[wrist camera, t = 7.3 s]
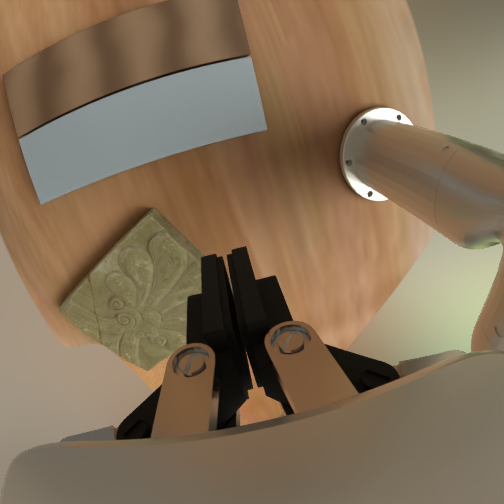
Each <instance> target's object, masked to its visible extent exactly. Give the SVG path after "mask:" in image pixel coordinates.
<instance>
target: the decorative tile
mask: <svg viewBox="0 0 504 504" xmlns="http://www.w3.org/2000/svg"><path fill="white" fill-rule="evenodd" d="M201 257H204V255H203V254H202V253H201V252H200V251H199V250H198V249H197V248H195V247H194V246H193V245H192V244H191V243H190V242H189V241H188V240H187V239H186V238H185V237H184V236H183V235H182V234H181V233H180V232H179V231H178V230H177V229H176V228H175V227H174V226H173V225H172V224H171V223H170V222H168V221H167V220H166V219H165V218H164V217H163V216H162V215H161V214H160V213H159V212H158V211H157V210H156V209H152V208H151V209H150V210H149V211H148V212H147V213H146V214H145V215H144V216H143V217H142V218H140V219H139V220H138V221H137V222H136V223H135V224H134V225H133V226H132V227H131V228H130V229H129V230H128V231H127V232H126V233H125V234H124V235H123V236H122V237H121V238H120V239H119V240H118V241H117V242H116V243H115V244H114V245H113V246H112V248H111V249H110V250H109V251H108V252H107V253H106V254H105V255H104V256H103V257H102V258H101V259H100V260H99V261H98V262H97V263H96V264H95V266H94V267H93V268H92V269H91V270H90V271H89V272H88V273H87V274H86V275H85V276H84V278H83V279H82V280H81V281H80V282H79V283H78V284H77V285H76V287H75V288H74V289H73V290H72V291H71V292H70V293H69V295H68V296H67V297H66V298H65V299H64V300H63V302H62V304H61V305H60V307H59V310H60V312H61V314H63V315H64V316H65V317H66V318H67V319H69V320H70V321H71V322H72V323H74V324H75V325H76V326H77V327H78V328H80V329H81V330H82V331H83V332H85V333H86V334H88V335H89V336H91V337H92V338H94V339H95V340H97V341H98V342H99V343H101V344H103V345H104V346H106V347H107V348H108V349H110V350H111V351H113V352H114V353H116V354H118V355H120V356H121V357H122V358H124V359H126V360H127V361H128V362H130V363H132V364H133V365H135V366H138V367H140V368H142V369H144V370H146V371H149V370H150V369H152V368H153V367H154V366H156V365H157V364H158V363H159V362H160V361H162V360H164V359H165V358H167V357H168V356H170V355H172V354H173V353H174V352H175V351H176V350H177V349H179V348H180V347H182V346H185V345H186V330H187V298H188V296H191V295H195V294H199V293H202V290H201ZM229 282H230V285H231V281H230V280H229ZM231 289H232V285H231ZM232 292H233V291H232Z"/></svg>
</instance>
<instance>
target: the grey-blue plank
mask: <svg viewBox="0 0 504 504" xmlns="http://www.w3.org/2000/svg"><path fill="white" fill-rule="evenodd" d="M265 130H267V125H266V121H265V116H264V111H263V107H262V102H261V98H260V93H259V89H258V84H257V80H256V76H255V71H254V67H253V63H252V59H251V57H247V58H241V59H236V60H231V61H226V62H221V63H216V64H212V65H208V66H203V67H199V68H195V69H191V70H188V71H184V72H180V73H177V74H173V75H170V76H166V77H163V78H160V79H156V80H153V81H150V82H147V83H144V84H141V85H138V86H135V87H132V88H130V89H127V90H124V91H121V92H119V93H116V94H113V95H111V96H108V97H106V98H103V99H101V100H99V101H96V102H94V103H91V104H89V105H87V106H84V107H82V108H80V109H78V110H76V111H73V112H71V113H69V114H67V115H65V116H63V117H61V118H59V119H57V120H55V121H53V122H51V123H49V124H47V125H45V126H43V127H41V128H39V129H37V130H36V131H34V132H32V133H30V134H28V135H27V136H25V137H23V138H21V139H20V140H19V143H20V146H21V149H22V153H23V156H24V159H25V162H26V165H27V168H28V171H29V174H30V177H31V179H32V182H33V185H34V188H35V190H36V193H37V196H38V198H39V201H40V203H41V205H42V204H44V203H47V202H49V201H51V200H53V199H55V198H58V197H60V196H62V195H65V194H67V193H69V192H72V191H74V190H76V189H79V188H81V187H84V186H86V185H89V184H91V183H94V182H96V181H99V180H101V179H104V178H106V177H109V176H112V175H114V174H117V173H120V172H123V171H125V170H128V169H131V168H134V167H137V166H140V165H143V164H146V163H149V162H152V161H155V160H158V159H161V158H164V157H167V156H170V155H173V154H177V153H180V152H183V151H187V150H190V149H194V148H197V147H201V146H204V145H208V144H212V143H215V142H219V141H223V140H227V139H231V138H235V137H239V136H243V135H247V134H251V133H256V132H260V131H265Z"/></svg>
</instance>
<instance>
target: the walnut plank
mask: <svg viewBox="0 0 504 504" xmlns="http://www.w3.org/2000/svg"><path fill="white" fill-rule="evenodd" d="M248 55H250V50H249V46H248V42H247V37H246V33H245V29H244V25H243V21H242V17H241V13H240V9H239V5H238V1H237V0H169V1H165V2H161V3H157V4H154V5H150V6H147V7H144V8H141V9H138V10H134V11H131V12H128V13H126V14H123V15H120V16H117V17H114V18H112V19H109V20H107V21H104V22H102V23H99V24H97V25H94V26H92V27H90V28H87V29H85V30H83V31H80V32H78V33H76V34H74V35H72V36H70V37H68V38H66V39H64V40H62V41H60V42H58V43H56V44H54V45H52V46H50V47H48V48H46V49H44V50H43V51H41V52H39V53H37V54H35V55H34V56H32V57H30V58H29V59H27V60H25V61H24V62H22V63H20V64H19V65H17V66H16V67H14V68H13V69H11V70H9V71H8V72H6V73H5V74H3V79H4V84H5V89H6V94H7V98H8V102H9V107H10V111H11V114H12V118H13V122H14V126H15V129H16V133H17V136H18V137H21V136H24V135H27V134H29V133H31V132H32V131H34V130H36V129H38V128H40V127H42V126H44V125H45V124H47V123H49V122H51V121H53V120H55V119H57V118H59V117H61V116H63V115H65V114H67V113H70V112H72V111H74V110H76V109H78V108H80V107H83V106H85V105H87V104H90V103H92V102H94V101H97V100H99V99H101V98H104V97H106V96H109V95H111V94H114V93H117V92H119V91H122V90H125V89H127V88H130V87H133V86H136V85H139V84H142V83H145V82H148V81H151V80H154V79H157V78H160V77H164V76H167V75H170V74H174V73H177V72H181V71H185V70H188V69H192V68H196V67H200V66H204V65H209V64H213V63H218V62H222V61H227V60H232V59H237V58H243V57H247V56H248Z"/></svg>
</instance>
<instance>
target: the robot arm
mask: <svg viewBox="0 0 504 504" xmlns="http://www.w3.org/2000/svg"><path fill="white" fill-rule="evenodd" d="M361 120H362V122H361ZM339 156H340V166H341V170H342V174H343V176H344V178H345V180H346V182H347V184H348V185H349V186H350V188H351V189H352V190H354V191H355V192H356V193H357V194H359V195H360V196H362V197H363V198H366V199H368V200H372V201H384V200H388V199H389V200H391V201H392V202H394V203H396V204H397V205H399V206H400V207H402V208H403V209H405V210H406V211H408V212H410V213H411V214H413V215H414V216H416V217H417V218H419V219H420V220H422V221H423V222H425V223H426V224H428V225H429V226H430V227H432V228H433V229H435V230H436V231H438V232H439V233H441V234H442V235H443V236H445V237H447V238H448V239H450V240H451V241H452V242H454V243H455V244H457V245H459V246H461V247H463V248H467V249H484V248H487V247H491V246H494V245H497V244H500V243H502V245H503V254H502V258H501V261H500V264H499V268H498V272H497V275H496V277H495V280H494V282H493V285H492V287H491V290H490V292H489V294H488V297H487V299H486V301H485V304H484V306H483V308H482V311H481V313H480V315H479V318H478V320H477V322H476V325H475V327H474V330H473V334H472V339H471V353H465V352H463V351H459V350H453V351H447V352H444V353H439V354H434V355H430V356H425V357H420V358H415V359H410V360H405V361H400V362H399V365H397V366H391V365H389V364H387V363H385V362H382V361H378V360H375V359H372V358H368V357H365V356H361V355H358V354H355V353H351V352H348V351H345V350H342V349H339V348H336V347H333V346H329V345H326V344H324V343H323V342H322V340H321V339H320V337H319V336H318V335H317V333H316V332H315V330H314V329H313V328H312V327H311V326H310V325H308V324H306V323H304V322H299V321H293V319H292V317H291V314H290V311H289V309H288V306H287V304H286V301H285V299H284V296H283V293H282V291H281V288H280V286H279V283H278V281H277V278H276V276H275V275H274V276H270V277H266V278H262V279H258V280H255V276H254V273H253V269H252V266H251V262H250V259H249V255H248V252H247V248H246V246H245V247H241V248H237V249H233V250H232V254H229V255H227V260H228V267H229V273H230V279H231V285H232V289H231V285H230V282H229V278H228V275H227V271H226V267H225V264H224V260H223V257H222V256H221V257H217V256H216V254H212V255H208V256H204V257H201V290H202V293H199V294H195V295H191V296H188V298H187V330H186V345H185V346H182V347H180V348H179V349H177V350H176V351H175V352H174V353H173V354H172V355H171V356H170V358H169V360H168V362H167V366H166V370H165V374H164V379H163V383H162V385H161V386H160V387H159V388H158V389H157V390H155V391H154V392H153V393H152V394H151V395H150V396H149V397H148V398H147V399H146V400H145V401H144V402H143V403H142V404H140V406H138V407H137V408H136V409H135V410H134V411H133V412H132V413H131V414H130V415H129V416H128V417H126V418H125V419H124V420H123V422H122V423H121V424H120V425H119V427H118V428H115V427H114V426H109V427H106V428H102V429H98V430H94V431H90V432H86V433H82V434H78V435H73V436H69V437H66V438H64V439H62V440H61V441H60V442H57V443H49V444H44V445H40V446H36V447H33V448H31V449H28V450H25V451H24V452H22V453H20V454H19V455H17V456H16V457H15V458H14V459H13V460H12V462H11V463H10V465H9V467H8V469H7V472H6V475H5V478H4V482H3V486H2V490H1V495H0V504H504V154H503V153H500V152H497V151H494V150H491V149H488V148H486V147H483V146H480V145H477V144H474V143H471V142H468V141H465V140H462V139H459V138H456V137H452V136H450V135H446V134H443V133H440V132H436V131H433V130H429V129H425V128H422V127H418V126H414V125H413V124H412V123H411V121H410V120H409V119H408V118H407V117H406V116H405V115H404V114H403V113H401V112H399V111H397V110H395V109H392V108H387V107H373V108H370V109H367V110H365V111H363V112H362V113H360V114H358V115H357V116H356V117H355V118H354V119H353V120H352V121H351V123H350V124H349V126H348V127H347V129H346V131H345V133H344V135H343V138H342V142H341V145H340V155H339ZM346 161H347V162H346ZM232 291H233V292H232ZM245 348H246V349H245ZM246 352H247V354H246ZM247 355H248V358H249V361H250V364H251V367H252V370H253V374H254V377H255V380H256V383H257V386H258V387H264V390H265V394H266V396H268V397H270V398H272V399H275V400H277V401H279V404H280V407H281V409H282V411H283V413H284V415H285V416H284V417H279V418H275V419H271V420H267V421H262V422H258V423H253V424H248V425H243V426H240V416H241V415H240V410H239V408H240V407H241V406H242V404H243V403H244V402H245V401H246V399H249V396H248V390H250V389H253V385H252V380H251V375H250V370H249V364H248V359H247Z"/></svg>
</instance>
